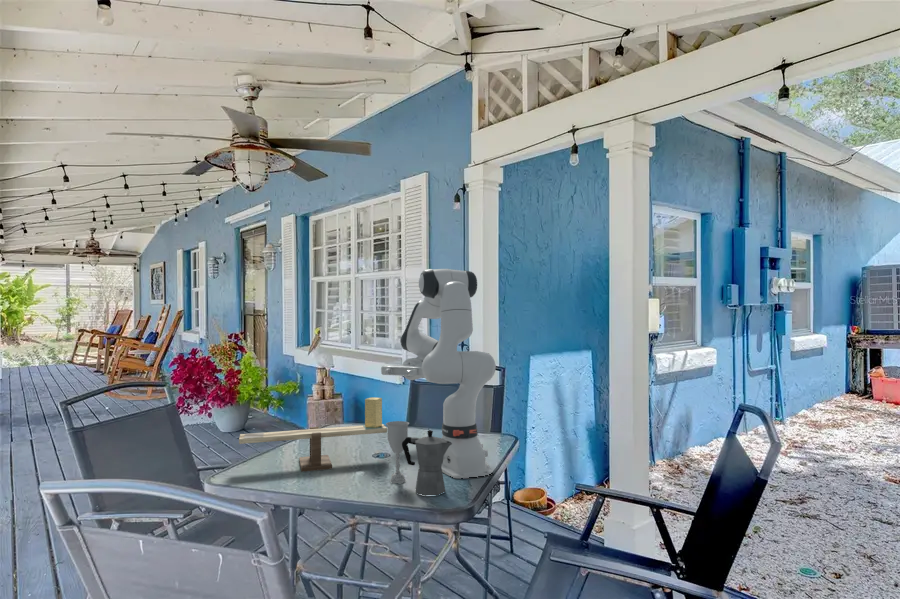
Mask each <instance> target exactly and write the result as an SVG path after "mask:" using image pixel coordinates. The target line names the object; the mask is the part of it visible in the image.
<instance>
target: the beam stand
mask: <svg viewBox="0 0 900 599" xmlns="http://www.w3.org/2000/svg"><path fill="white" fill-rule="evenodd" d="M309 429H320V427H319V426H310V427H309ZM298 461H299V466H300V470H301V471H300V472H301V473H304V472H305V473H306V472H315V471H323V470H325V471H326V470H332V469H333V464H332V463H333V462H331V459H330V456H329V454H322V438H321V432H316V433H312V438H310V439H309V455H308V456H300V457H299V460H298Z"/></svg>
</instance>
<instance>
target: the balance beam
mask: <svg viewBox="0 0 900 599" xmlns="http://www.w3.org/2000/svg"><path fill="white" fill-rule="evenodd" d="M316 432H321V439H322V438H332V437H348V436H359V435H360V436H361V435H373V434H383V433H385V434H386V433H387V434H388V427H387V425H386V424H383V423H382V426H380V427H378V428H368V427H365V424H364V425H351V426H349V425H348V426H339V427H337V426H336V427H325V428H324V427H321V428H319V429H310V428H309V429H297V430H296V429H295V430H294V429H293V430H283V431H282V430H281V431H269V432H268V431H267V432H266V431H264V432H251V433H240V434H239V438H238V445H243V444H244V445H245V444H255V443H256V444H257V443H267V442H268V443H269V442H270V443H271V442H283V441H295V440H308V439H309V440H310V438H312V433H316Z"/></svg>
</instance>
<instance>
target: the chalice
mask: <svg viewBox="0 0 900 599" xmlns="http://www.w3.org/2000/svg"><path fill="white" fill-rule="evenodd" d="M409 424H410V422H408V421H402V420H396V421H388V422H386V423H385V426H386V427H387V441H388V444H389V447H390V449H391V451H392V453H394V454H395V460H394V461H395V462H396V463H395V465H394V468H395V472H393V474H392V475H391V477H390V479H389V483H390V482H392V483H391V484H393V483H401V484H404V483H406V482H407V480H406V478H405V475H404V473H403V472H401V471H400V467H401V466H402V465H401V464H400V461H401V457H400V454H401V453H403V452H404V450H403V447H402V442H403V441H404V440H405V439H406V437H409V436H408V435H409V434H408V433H409V432H408V428H409V427H408V426H409ZM405 481H406V482H405ZM403 482H404V483H403Z"/></svg>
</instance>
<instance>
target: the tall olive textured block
mask: <svg viewBox="0 0 900 599" xmlns="http://www.w3.org/2000/svg"><path fill="white" fill-rule="evenodd" d="M382 424H383V398H382V397H367V398H365V399H364V425H365V427H368V428H378V427H380V426H382Z"/></svg>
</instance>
